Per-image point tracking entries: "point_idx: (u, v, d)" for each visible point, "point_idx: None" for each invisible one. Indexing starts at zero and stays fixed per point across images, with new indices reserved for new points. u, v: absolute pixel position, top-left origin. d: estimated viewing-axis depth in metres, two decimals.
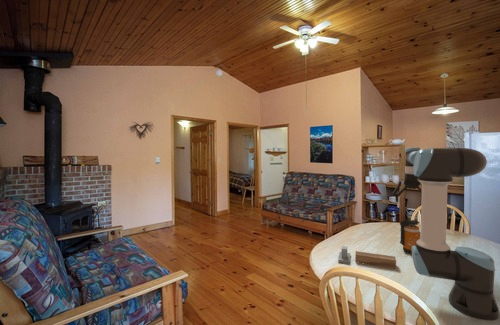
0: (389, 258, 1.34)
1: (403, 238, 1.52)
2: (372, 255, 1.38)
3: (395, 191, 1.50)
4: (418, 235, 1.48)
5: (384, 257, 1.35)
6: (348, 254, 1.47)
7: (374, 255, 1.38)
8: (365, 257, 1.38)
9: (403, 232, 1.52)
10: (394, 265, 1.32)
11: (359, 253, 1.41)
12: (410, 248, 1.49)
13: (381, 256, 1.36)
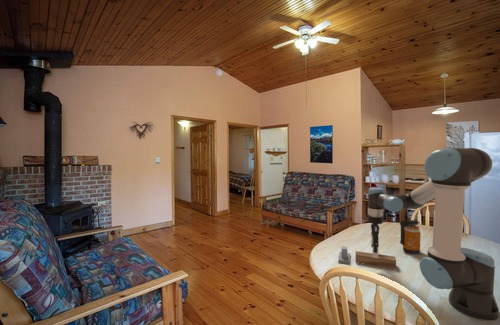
0: (389, 258, 1.34)
1: (403, 238, 1.52)
2: None
3: None
4: (418, 235, 1.48)
5: (384, 257, 1.35)
6: (348, 254, 1.47)
7: None
8: (365, 257, 1.38)
9: (403, 232, 1.52)
10: (394, 265, 1.32)
11: (359, 253, 1.41)
12: (410, 248, 1.49)
13: (381, 256, 1.36)
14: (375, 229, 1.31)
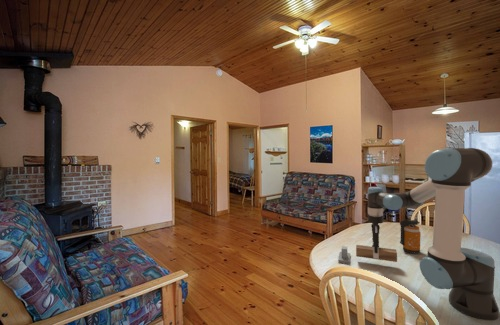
0: (390, 251, 1.33)
1: (403, 238, 1.52)
2: None
3: None
4: (418, 235, 1.48)
5: (385, 250, 1.35)
6: (348, 254, 1.47)
7: None
8: (366, 250, 1.37)
9: (403, 232, 1.52)
10: (395, 258, 1.31)
11: (360, 246, 1.40)
12: (410, 248, 1.49)
13: (382, 249, 1.36)
14: (376, 231, 1.31)
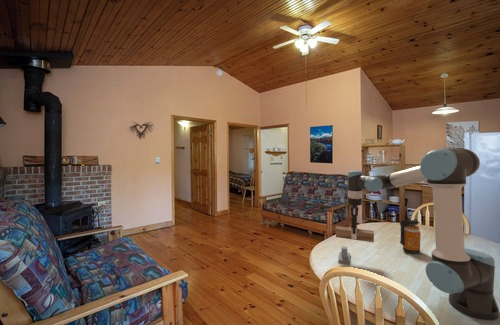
0: (368, 232, 1.38)
1: (403, 238, 1.52)
2: None
3: None
4: (418, 235, 1.48)
5: (363, 231, 1.39)
6: (348, 254, 1.47)
7: None
8: (345, 231, 1.42)
9: (403, 232, 1.52)
10: (372, 238, 1.36)
11: (339, 228, 1.45)
12: (410, 248, 1.49)
13: (360, 230, 1.40)
14: (354, 212, 1.35)
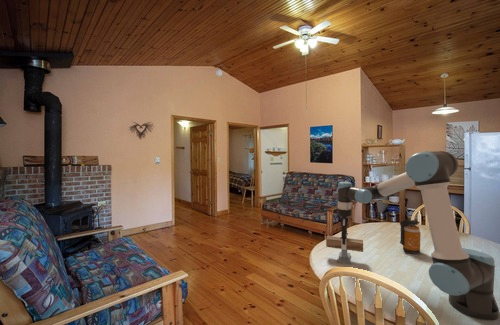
0: (357, 241, 1.40)
1: (403, 238, 1.52)
2: None
3: None
4: (418, 235, 1.48)
5: (352, 240, 1.42)
6: (348, 254, 1.47)
7: None
8: (335, 240, 1.44)
9: (403, 232, 1.52)
10: (361, 248, 1.38)
11: (330, 237, 1.47)
12: (410, 248, 1.49)
13: (350, 240, 1.43)
14: (343, 224, 1.37)
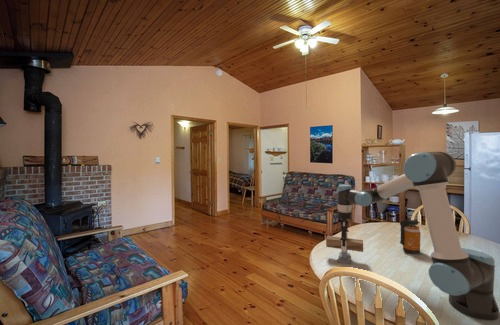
0: (357, 241, 1.40)
1: (403, 238, 1.52)
2: None
3: None
4: (418, 235, 1.48)
5: (352, 240, 1.42)
6: (348, 254, 1.47)
7: None
8: (335, 240, 1.44)
9: (403, 232, 1.52)
10: (361, 248, 1.38)
11: (330, 237, 1.47)
12: (410, 248, 1.49)
13: (350, 240, 1.43)
14: (343, 224, 1.37)
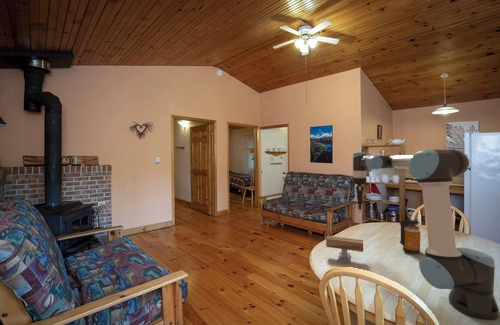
0: (357, 241, 1.40)
1: (403, 238, 1.52)
2: (342, 239, 1.44)
3: None
4: (418, 235, 1.48)
5: (352, 240, 1.42)
6: (348, 254, 1.47)
7: (343, 239, 1.44)
8: (335, 240, 1.44)
9: (403, 232, 1.52)
10: (361, 248, 1.38)
11: (330, 237, 1.47)
12: (410, 248, 1.49)
13: (350, 240, 1.43)
14: (359, 188, 1.43)
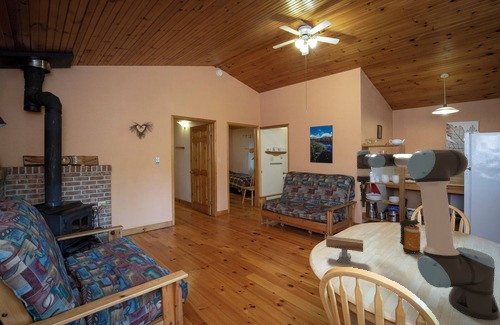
0: (357, 241, 1.40)
1: (403, 238, 1.52)
2: (342, 239, 1.44)
3: None
4: (418, 235, 1.48)
5: (352, 240, 1.42)
6: (348, 254, 1.47)
7: (343, 239, 1.44)
8: (335, 240, 1.44)
9: (403, 232, 1.52)
10: (361, 248, 1.38)
11: (330, 237, 1.47)
12: (410, 248, 1.49)
13: (350, 240, 1.43)
14: (363, 186, 1.45)
